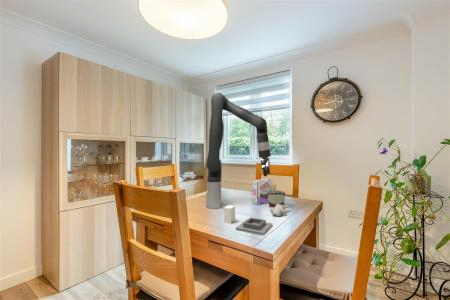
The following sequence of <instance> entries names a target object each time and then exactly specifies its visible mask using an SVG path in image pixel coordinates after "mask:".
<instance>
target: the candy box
mask: <svg viewBox="0 0 450 300" xmlns="http://www.w3.org/2000/svg"><path fill="white" fill-rule="evenodd" d="M269 191H273V179H269V178H262V179H253V180H252V203H253V204H254V205H257V206H258V205H264V204H269V201H268V195H267V193H268V192H269Z"/></svg>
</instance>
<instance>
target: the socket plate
mask: <svg viewBox="0 0 450 300" xmlns="http://www.w3.org/2000/svg"><path fill="white" fill-rule="evenodd" d="M272 227H273V223H272V222H267V221H266V219H262V218H255V217H249V218H247V219H245V220H244V221H242V222H241V223H240V224H239V225H237V226H236V227H235V230H236V231H240V232H244V233H250V234H255V235H260V236H264V235H265V234H266V233H267V232H268V231H269V230H270V229H271V228H272Z"/></svg>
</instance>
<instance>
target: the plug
mask: <svg viewBox="0 0 450 300" xmlns="http://www.w3.org/2000/svg"><path fill="white" fill-rule="evenodd" d="M223 215H224V216H223V220H224V221H223V222H224V223H225V222H226V224H230V223H231V224H232V222H233V223H234V222H235V221H236V206H235V205H230V204H228V205H226V206H225V207H223Z"/></svg>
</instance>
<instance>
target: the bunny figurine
mask: <svg viewBox="0 0 450 300" xmlns="http://www.w3.org/2000/svg"><path fill="white" fill-rule="evenodd" d="M289 208H290V206H289V205H288V204H284V205H280V204H276V207H274V208H270V209H269V212H270V213H272V214H271V215H272V216H274V217H281V216H282V215H283V216H284V215H287V209H289Z"/></svg>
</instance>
